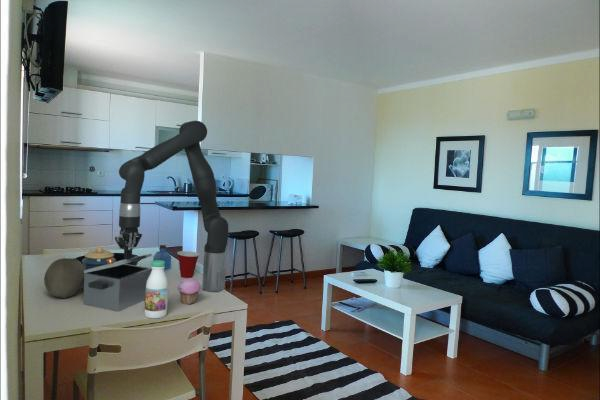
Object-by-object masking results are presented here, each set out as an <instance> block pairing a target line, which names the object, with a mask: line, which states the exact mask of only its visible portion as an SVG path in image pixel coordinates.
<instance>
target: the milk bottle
mask: <svg viewBox="0 0 600 400" xmlns="http://www.w3.org/2000/svg"><path fill="white" fill-rule="evenodd" d="M150 266H151V267H150V268H152V271H151V274H150V276H149V278H148V280H147V283H146V294H145V300H144V317H146V318H147V319H153V320H155V319H161V318H164V317H166V316H167V313H168V302H169V301H168V300H169V282H168V281H169V280H168V278H167V275H166V273H165V270H164V268H165V261H162V260H155V261H153V260H152V261H151V265H150Z"/></svg>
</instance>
